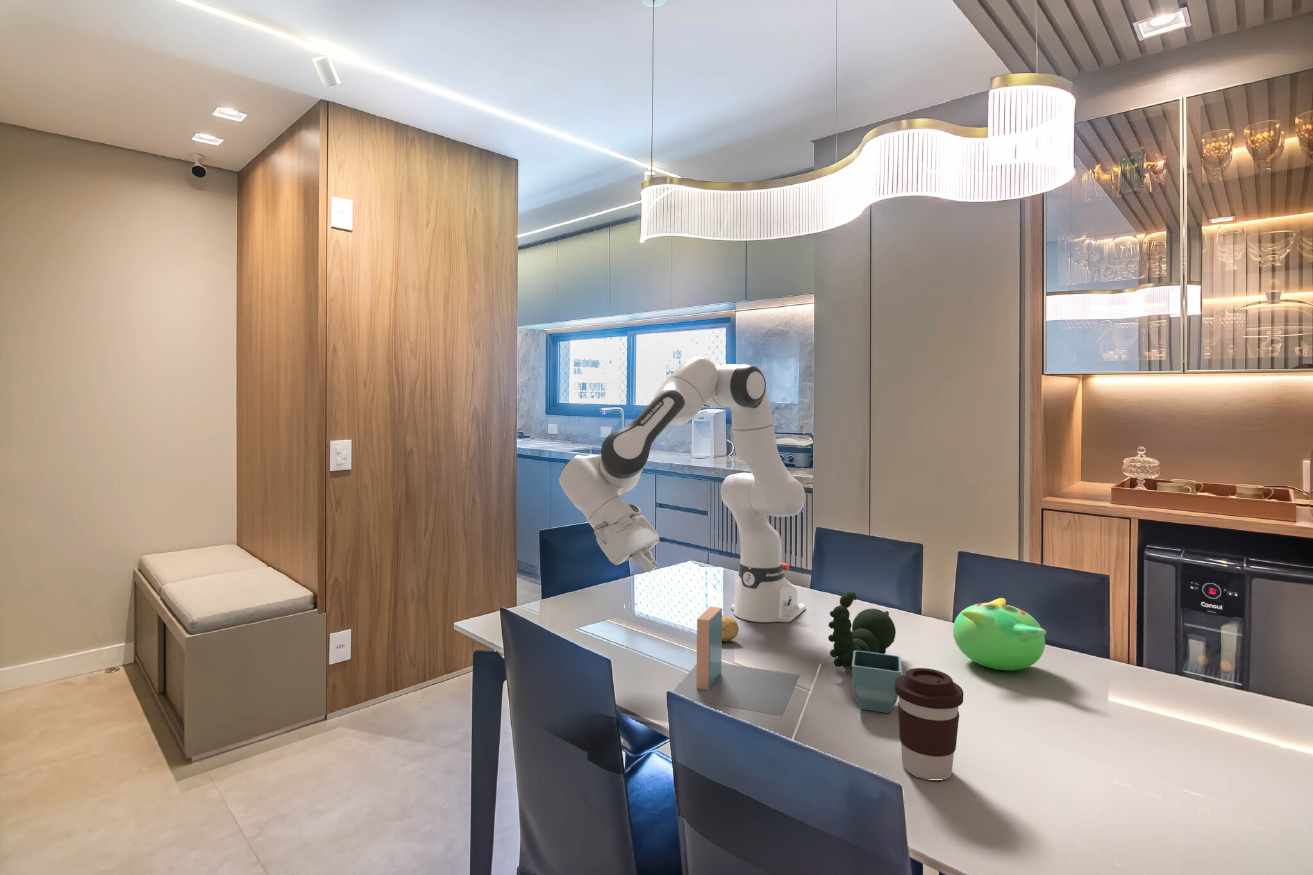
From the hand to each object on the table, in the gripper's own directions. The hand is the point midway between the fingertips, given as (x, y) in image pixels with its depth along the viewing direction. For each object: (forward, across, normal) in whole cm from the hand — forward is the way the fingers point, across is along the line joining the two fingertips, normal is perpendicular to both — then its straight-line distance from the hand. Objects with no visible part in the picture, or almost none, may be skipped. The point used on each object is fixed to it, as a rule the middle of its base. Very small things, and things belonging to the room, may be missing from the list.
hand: (653, 568), depth 138 cm
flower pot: (+48, +2, -16) cm, 51 cm away
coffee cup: (+54, -18, -22) cm, 61 cm away
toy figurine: (+45, +24, -14) cm, 53 cm away
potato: (+21, +26, +11) cm, 35 cm away
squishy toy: (+64, +33, -33) cm, 80 cm away
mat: (+29, 0, +3) cm, 29 cm away
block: (+24, 0, +7) cm, 25 cm away
